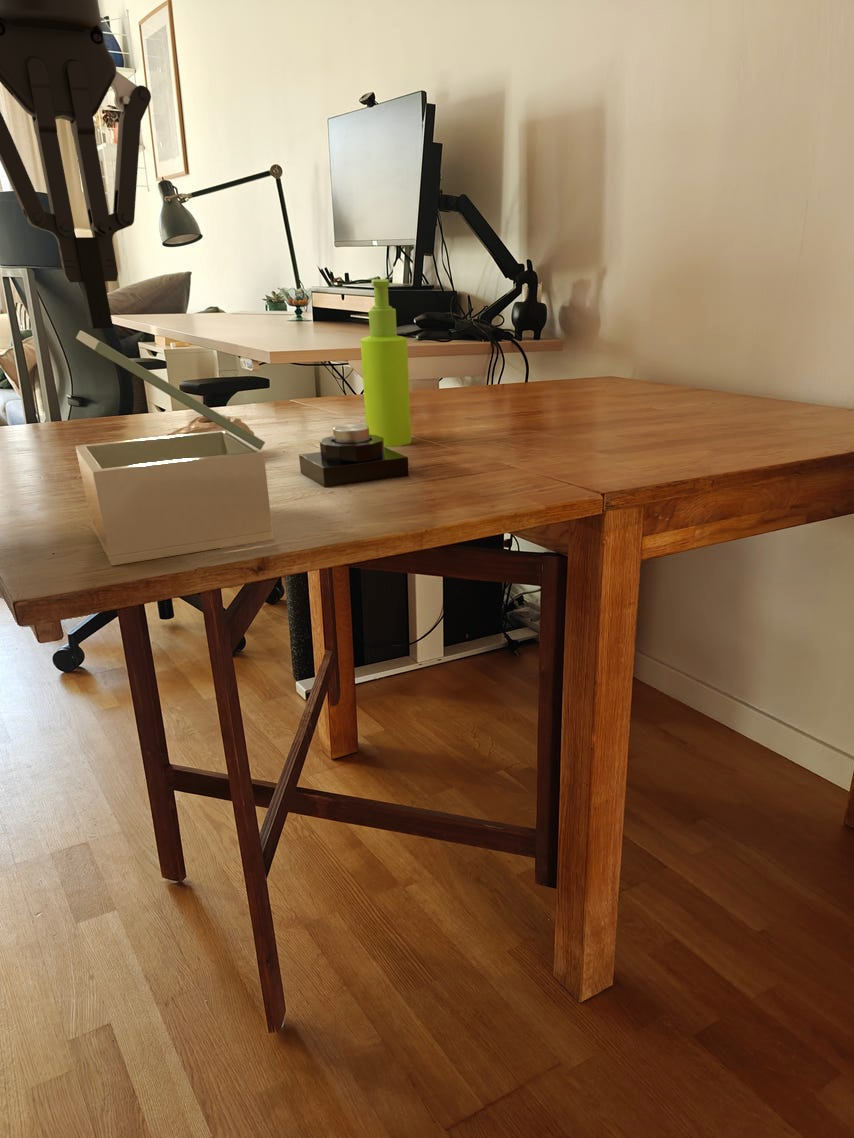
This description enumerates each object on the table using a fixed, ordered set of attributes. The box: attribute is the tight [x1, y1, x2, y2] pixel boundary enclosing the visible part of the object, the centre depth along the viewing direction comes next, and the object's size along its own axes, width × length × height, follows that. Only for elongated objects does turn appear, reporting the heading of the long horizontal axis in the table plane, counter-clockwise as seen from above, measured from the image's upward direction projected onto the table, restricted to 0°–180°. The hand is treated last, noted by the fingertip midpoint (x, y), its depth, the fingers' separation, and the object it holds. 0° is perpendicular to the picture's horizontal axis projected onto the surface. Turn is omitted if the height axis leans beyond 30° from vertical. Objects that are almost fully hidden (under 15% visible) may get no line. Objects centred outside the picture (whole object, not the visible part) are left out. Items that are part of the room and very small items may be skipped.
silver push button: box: [332, 423, 370, 444], centre depth 96 cm, size 4×4×2 cm
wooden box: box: [75, 430, 274, 567], centre depth 76 cm, size 14×12×8 cm
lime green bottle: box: [359, 278, 412, 448], centre depth 111 cm, size 6×7×20 cm
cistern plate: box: [298, 434, 410, 489], centre depth 97 cm, size 10×8×4 cm
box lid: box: [75, 330, 266, 451], centre depth 73 cm, size 15×12×1 cm
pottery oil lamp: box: [163, 414, 255, 437], centre depth 104 cm, size 9×12×7 cm
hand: (100, 326), depth 69 cm, fingers closed
